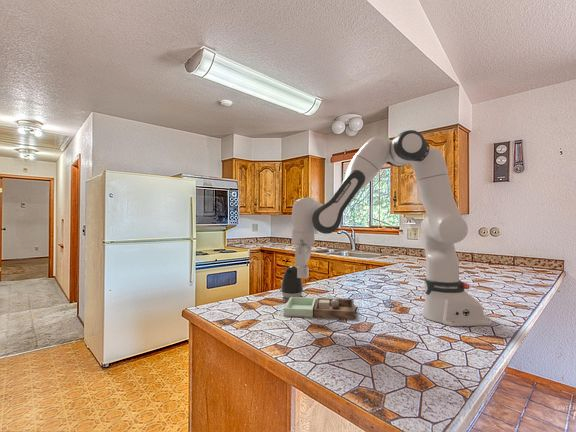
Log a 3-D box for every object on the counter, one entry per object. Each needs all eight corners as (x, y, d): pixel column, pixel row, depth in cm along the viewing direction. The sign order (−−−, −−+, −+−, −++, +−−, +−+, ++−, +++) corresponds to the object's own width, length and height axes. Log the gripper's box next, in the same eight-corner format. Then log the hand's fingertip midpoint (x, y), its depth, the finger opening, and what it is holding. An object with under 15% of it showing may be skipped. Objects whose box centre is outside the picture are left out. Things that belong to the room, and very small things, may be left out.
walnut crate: (353, 307, 125) (353, 299, 125) (355, 321, 110) (355, 311, 110) (317, 306, 128) (317, 297, 128) (314, 319, 112) (313, 309, 112)
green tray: (316, 306, 128) (316, 297, 128) (312, 319, 112) (312, 309, 112) (290, 304, 130) (290, 296, 130) (283, 317, 114) (283, 308, 114)
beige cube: (329, 309, 120) (329, 300, 120) (329, 313, 116) (329, 302, 116) (319, 309, 121) (319, 299, 121) (318, 312, 117) (318, 302, 117)
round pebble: (339, 306, 125) (339, 298, 125) (339, 309, 121) (339, 300, 121) (330, 306, 125) (330, 297, 125) (330, 308, 122) (330, 300, 122)
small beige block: (308, 276, 119) (308, 266, 119) (307, 278, 116) (307, 267, 116) (298, 275, 120) (298, 265, 120) (297, 277, 116) (297, 267, 116)
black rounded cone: (277, 300, 137) (277, 267, 137) (286, 294, 147) (285, 263, 147) (298, 302, 133) (298, 268, 133) (306, 296, 143) (305, 264, 143)
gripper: (308, 241, 107) (308, 280, 107) (313, 237, 127) (313, 269, 127) (290, 241, 108) (290, 279, 108) (298, 236, 128) (298, 269, 128)
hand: (303, 274), depth 118 cm, fingers closed on small beige block, 4 cm apart
